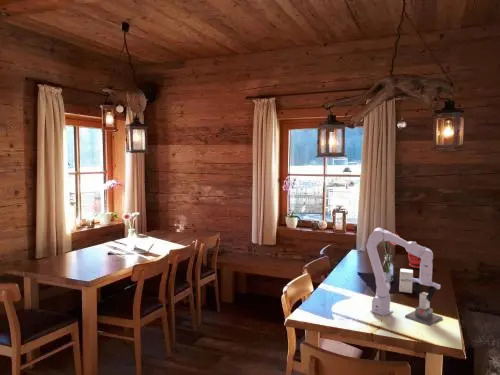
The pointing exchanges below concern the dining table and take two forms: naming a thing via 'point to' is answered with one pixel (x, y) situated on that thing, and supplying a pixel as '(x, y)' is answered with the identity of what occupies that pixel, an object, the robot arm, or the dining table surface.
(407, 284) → the supplement box
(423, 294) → the column
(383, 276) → the robot arm
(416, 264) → the plant pot
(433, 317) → the stand base
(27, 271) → the dining table surface
